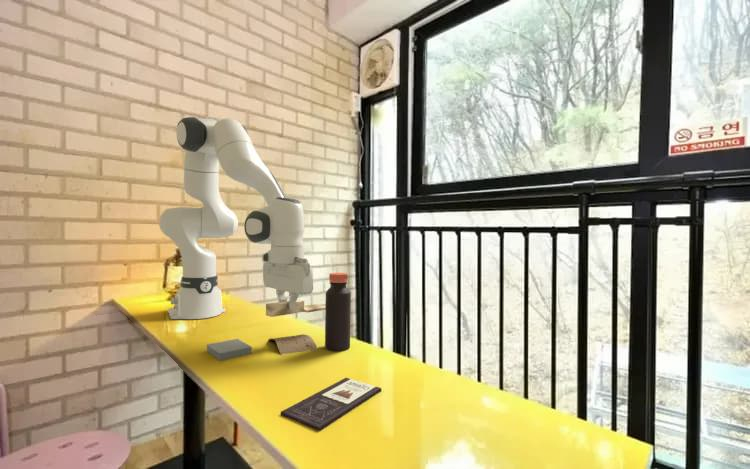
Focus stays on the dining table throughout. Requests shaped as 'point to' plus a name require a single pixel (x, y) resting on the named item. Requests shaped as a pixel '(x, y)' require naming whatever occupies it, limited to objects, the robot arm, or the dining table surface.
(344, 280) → the bottle
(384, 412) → the dining table surface
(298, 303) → the stepped wooden block
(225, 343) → the grey framed square panel
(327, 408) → the chocolate bar
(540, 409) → the dining table surface
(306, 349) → the curved brown bark piece
